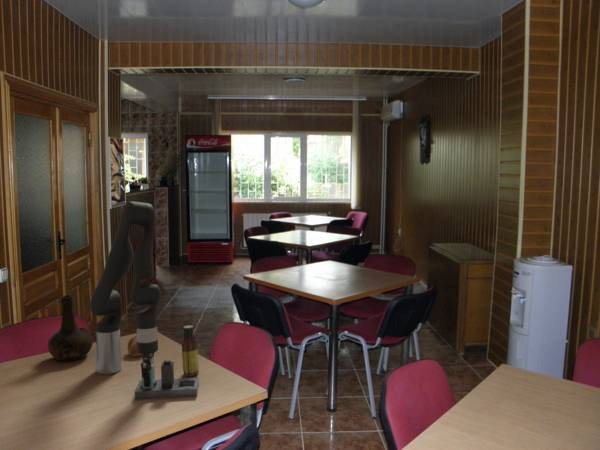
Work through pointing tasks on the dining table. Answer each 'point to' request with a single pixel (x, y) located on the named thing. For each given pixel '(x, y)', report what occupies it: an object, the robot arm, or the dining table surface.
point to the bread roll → (133, 347)
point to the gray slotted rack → (168, 385)
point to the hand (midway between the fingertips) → (148, 383)
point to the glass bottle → (69, 335)
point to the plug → (152, 378)
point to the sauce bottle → (189, 352)
